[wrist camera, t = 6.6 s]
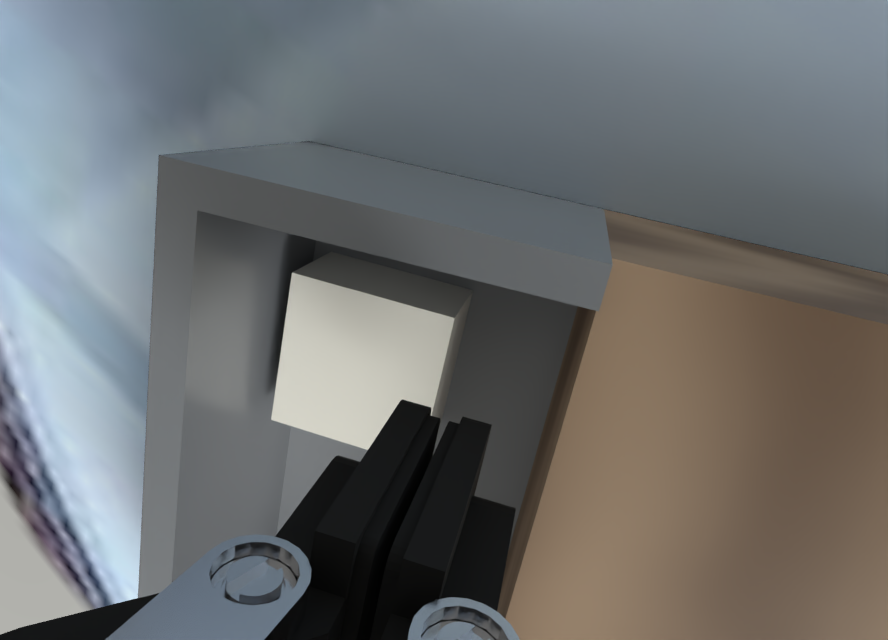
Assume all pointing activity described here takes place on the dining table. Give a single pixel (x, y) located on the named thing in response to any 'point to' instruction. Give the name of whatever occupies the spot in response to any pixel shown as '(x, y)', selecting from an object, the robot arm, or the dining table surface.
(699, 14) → the dining table surface
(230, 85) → the dining table surface
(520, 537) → the bench plate
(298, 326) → the cream block
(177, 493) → the box
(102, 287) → the dining table surface
